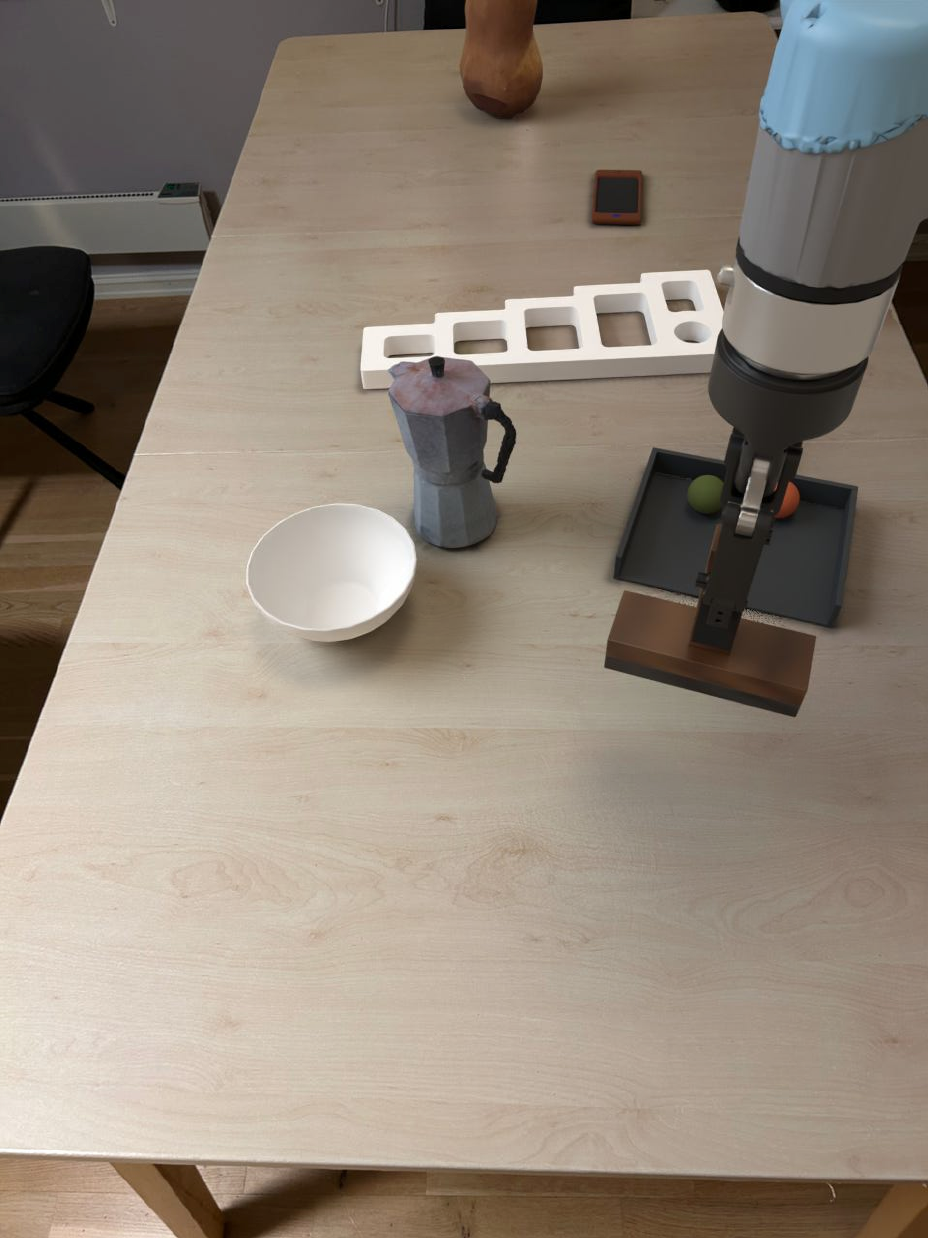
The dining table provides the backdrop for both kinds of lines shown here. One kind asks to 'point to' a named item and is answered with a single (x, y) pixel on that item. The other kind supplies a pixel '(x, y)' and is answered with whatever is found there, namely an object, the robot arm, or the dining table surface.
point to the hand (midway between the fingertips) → (715, 625)
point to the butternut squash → (501, 56)
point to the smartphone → (617, 197)
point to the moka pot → (450, 447)
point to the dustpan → (788, 567)
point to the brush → (710, 653)
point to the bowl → (332, 571)
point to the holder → (574, 310)
